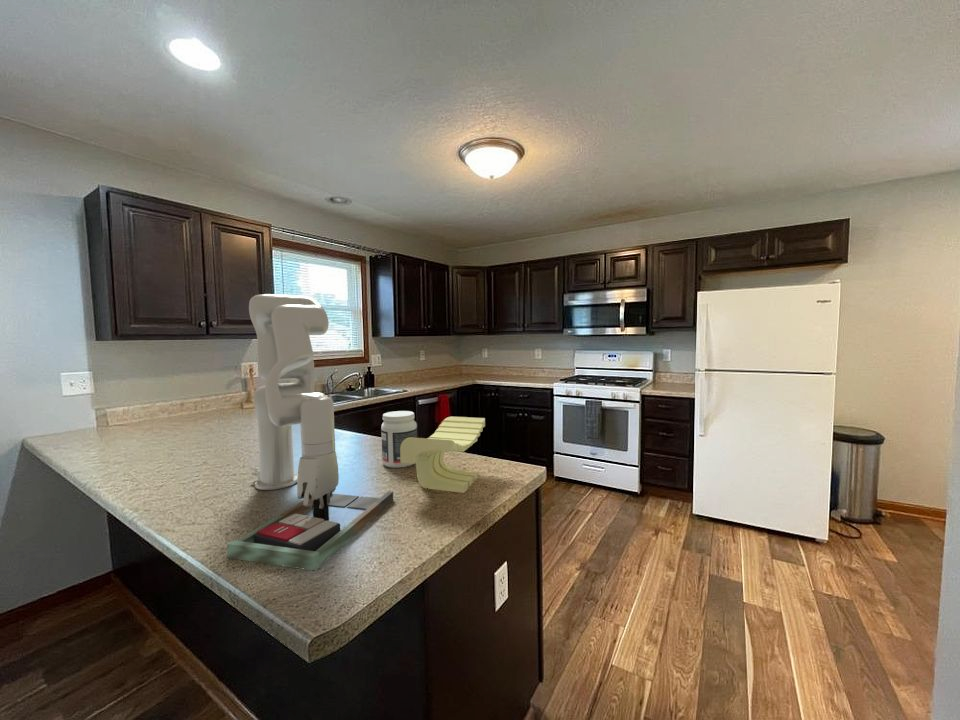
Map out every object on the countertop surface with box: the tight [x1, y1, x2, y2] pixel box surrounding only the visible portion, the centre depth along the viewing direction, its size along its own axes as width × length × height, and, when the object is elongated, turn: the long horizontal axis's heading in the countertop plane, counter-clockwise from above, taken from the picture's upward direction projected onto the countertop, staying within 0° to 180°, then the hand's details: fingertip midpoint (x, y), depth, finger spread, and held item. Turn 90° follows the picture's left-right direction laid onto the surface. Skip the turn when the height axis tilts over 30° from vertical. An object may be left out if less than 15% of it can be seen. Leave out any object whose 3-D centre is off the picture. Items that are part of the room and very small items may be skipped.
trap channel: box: [226, 491, 394, 571], centre depth 95 cm, size 21×34×3 cm, turn 166°
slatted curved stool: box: [400, 416, 486, 494], centre depth 122 cm, size 30×16×18 cm, turn 162°
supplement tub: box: [380, 410, 418, 469], centre depth 141 cm, size 13×13×18 cm
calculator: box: [254, 514, 341, 551], centre depth 87 cm, size 11×4×15 cm
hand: (321, 521), depth 94 cm, fingers closed
